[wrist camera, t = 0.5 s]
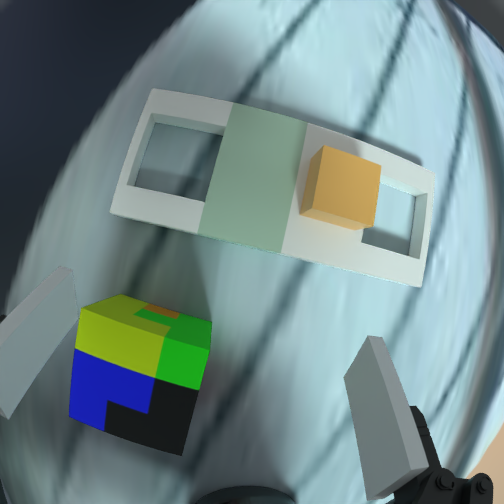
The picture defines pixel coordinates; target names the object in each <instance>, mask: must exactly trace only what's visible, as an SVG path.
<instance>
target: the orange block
mask: <svg viewBox="0 0 504 504" xmlns="http://www.w3.org/2000/svg"><path fill="white" fill-rule="evenodd" d="M380 175H381V165H379V164H376V163H373V162H371V161H368V160H366V159H363V158H360V157H357V156H355V155H352V154H349V153H346V152H343V151H341V150H338V149H335V148H332V147H329V146H326V145H323V146H322V147H321V148H320V149H319V150H318V151H317V153H316V154H315V155H314V156H313V157H312V158H311V160H310V165H309V170H308V176H307V181H306V186H305V191H304V196H303V200H302V205H301V210H300V215H301V216H305V217H309V218H312V219H316V220H320V221H323V222H327V223H330V224H334V225H337V226H341V227H344V228H348V229H351V230H359V229H364V228H369V227H373V225H374V219H375V212H376V205H377V198H378V191H379V183H380Z"/></svg>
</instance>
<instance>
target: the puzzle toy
mask: <svg viewBox="0 0 504 504" xmlns="http://www.w3.org/2000/svg"><path fill="white" fill-rule="evenodd" d="M211 329H212V322H210V321H206V320H203V319H199V318H196V317H192V316H189V315H185V314H182V313H179V312H175V311H172V310H169V309H165V308H162V307H159V306H156V305H153V304H150V303H146V302H143V301H140V300H137V299H134V298H131V297H128V296H125V295H122V294H119V295H116V296H113V297H110V298H107V299H105V300H102V301H99V302H96V303H93V304H91V305H88V306H85V307H82V308H81V312H80V318H79V324H78V330H77V337H76V344H75V351H74V359H73V368H72V378H71V389H70V404H69V417H71V418H73V419H75V420H78V421H80V422H82V423H85V424H87V425H89V426H92V427H94V428H97V429H99V430H102V431H104V432H107V433H109V434H112V435H115V436H117V437H120V438H123V439H126V440H129V441H132V442H135V443H138V444H141V445H144V446H147V447H151V448H154V449H157V450H161V451H164V452H168V453H172V454H176V455H180V456H182V453H183V449H184V445H185V441H186V437H187V434H188V430H189V426H190V422H191V419H192V415H193V411H194V407H195V404H196V400H197V396H198V392H199V389H200V385H201V381H202V378H203V374H204V370H205V367H206V363H207V359H208V356H209V352H210V343H211Z"/></svg>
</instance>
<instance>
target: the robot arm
mask: <svg viewBox="0 0 504 504" xmlns="http://www.w3.org/2000/svg"><path fill="white" fill-rule="evenodd" d="M78 319H79V316H78V309H77V302H76V294H75V285H74V275H73V270H71V269H68V268H65V267H62V266H59V267H58V268H57V269H56V270H55V271H54V272H53V273H51V274H50V275H49V276H48V277H47V278H46V279H45V280H44V281H43V282H42V283H41V284H40V285H38V286H37V287H36V288H35V289H34V290H33V291H32V292H31V293H30V294H29V295H28V296H27V297H26V298H25V299H24V300H23V301H22V302H21V303H20V304H19V305H18V306H17V307H16V308H15V309H14V310H13V311H12V312H11V313H10V314H9V315H8V316H5V315H1V316H0V414H1V415H2V416H4V417H5V418H7V419H8V420H9V418H10V417H11V415H12V413H13V412H14V410H15V409H16V407H17V405H18V404H19V402H20V401H21V399H22V398H23V396H24V394H25V393H26V391H27V390H28V388H29V387H30V385H31V384H32V382H33V381H34V379H35V378H36V376H37V375H38V373H39V372H40V371H41V369H42V368H43V366H44V365H45V363H46V362H47V361H48V359H49V358H50V356H51V355H52V354H53V352H54V351H55V349H56V348H57V347H58V345H59V344H60V343H61V341H62V340H63V338H64V337H65V336H66V334H67V333H68V332H69V330H70V329H71V328H72V327H73V325H74V324H75V323H76V321H77V320H78ZM344 381H345V386H346V390H347V395H348V399H349V404H350V409H351V414H352V418H353V423H354V429H355V434H356V439H357V444H358V450H359V455H360V461H361V467H362V472H363V478H364V485H365V491H366V498H367V501H368V500H376V499H383V498H386V497H387V496H389V495H390V494H392V493H394V499H392V500H391V501H389V502H388V503H386V504H492V503H493V483H492V480H491V478H490V477H489V476H488V475H486V474H484V473H478V474H476V475H475V476H473V477H472V478H471V479H462V478H455V476H454V474H453V473H452V472H451V471H449V470H448V469H445V468H442V467H441V465H440V462H439V459H438V456H437V453H436V449H435V447H434V444H433V441H432V438H431V436H430V432H429V429H428V428H427V424H426V421H425V418H424V416H423V414H422V413H421V412H420V410H419V409H418V408H417V407H416V406H409V404H408V401H407V398H406V396H405V393H404V390H403V388H402V385H401V382H400V380H399V377H398V375H397V372H396V370H395V367H394V365H393V362H392V360H391V357H390V355H389V352H388V350H387V347H386V345H385V343H384V340H383V338H382V337H375V336H367V338H366V340H365V341H364V343H363V345H362V347H361V349H360V350H359V352H358V354H357V356H356V357H355V359H354V361H353V362H352V364H351V366H350V368H349V369H348V371H347V373H346V374H345V376H344ZM0 504H7V500H6V497H5V494H4V490H3V487H2V483H1V479H0ZM196 504H295V502H294V501H293V500H292V499H291V498H290V497H289V496H288V495H286V494H284V493H282V492H280V491H277V490H274V489H270V488H265V487H255V486H243V487H233V488H228V489H223V490H219V491H216V492H213V493H211V494H209V495H207V496H205V497H203V498H202V499H200V500H199V501H198V502H197V503H196Z"/></svg>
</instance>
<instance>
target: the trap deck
mask: <svg viewBox="0 0 504 504" xmlns="http://www.w3.org/2000/svg"><path fill="white" fill-rule="evenodd" d="M155 123H161V124H167V125H173V126H178V127H183V128H189V129H194V130H199V131H204V132H208V133H213V134H218V135H222V136H223V139H222V142H221V146H220V149H219V152H218V156H217V159H216V163H215V167H214V170H213V174H212V178H211V181H210V185H209V189H208V192H207V196H206V200H205V202H202V201H198V200H194V199H189V198H185V197H180V196H176V195H172V194H167V193H162V192H158V191H153V190H149V189H144V188H139V187H134V186H135V182H136V179H137V176H138V172H139V169H140V166H141V163H142V160H143V157H144V154H145V151H146V148H147V145H148V142H149V139H150V136H151V133H152V130H153V128H154V125H155ZM323 145H326V146H329V147H332V148H335V149H338V150H341V151H343V152H346V153H349V154H352V155H355V156H357V157H360V158H363V159H366V160H368V161H371V162H373V163H376V164H379V165H381V175H380V183H383V184H385V185H388V186H390V187H393V188H395V189H398V190H401V191H403V192H406V193H408V194H410V195H413V196H415V197H416V202H415V211H414V219H413V227H412V234H411V241H410V248H409V254H408V256H406V255H402V254H399V253H396V252H392V251H389V250H386V249H382V248H379V247H375V246H372V245H368V244H365V243H361V241H362V235H363V230H364V229H359V230H351V229H348V228H344V227H341V226H337V225H334V224H330V223H327V222H323V221H320V220H316V219H312V218H309V217H305V216H301V215H300V210H301V205H302V200H303V196H304V191H305V186H306V181H307V176H308V170H309V165H310V160H311V158H312V157H313V156H314V155H315V154H316V153H317V151H318V150H319V149H320V148H321V147H322V146H323ZM434 184H435V173H434V172H432V171H430V170H428V169H426V168H423V167H421V166H419V165H417V164H415V163H413V162H411V161H408V160H406V159H404V158H402V157H399V156H397V155H395V154H392V153H390V152H388V151H385V150H383V149H380V148H378V147H375V146H373V145H370V144H368V143H365V142H363V141H360V140H357V139H355V138H352V137H349V136H347V135H344V134H341V133H338V132H335V131H333V130H330V129H327V128H324V127H321V126H318V125H314V124H311V123H308V122H305V121H302V120H298V119H295V118H292V117H288V116H285V115H281V114H278V113H274V112H270V111H267V110H263V109H259V108H255V107H251V106H247V105H242V104H238V103H234V102H229V101H225V100H220V99H215V98H210V97H205V96H199V95H194V94H188V93H182V92H176V91H169V90H162V89H155V88H152V90H151V92H150V94H149V97H148V99H147V102H146V104H145V106H144V109H143V111H142V114H141V116H140V119H139V122H138V124H137V127H136V130H135V132H134V135H133V138H132V141H131V143H130V146H129V149H128V152H127V155H126V158H125V161H124V164H123V167H122V170H121V173H120V177H119V180H118V183H117V187H116V190H115V193H114V197H113V201H112V204H111V208H110V212H109V213H111V214H113V215H116V216H118V217H123V218H127V219H131V220H136V221H140V222H144V223H148V224H153V225H157V226H161V227H165V228H170V229H174V230H178V231H182V232H187V233H191V234H195V235H199V236H203V237H208V238H212V239H216V240H220V241H224V242H229V243H233V244H237V245H241V246H245V247H250V248H254V249H258V250H262V251H266V252H271V253H275V254H279V255H283V256H287V257H291V258H296V259H300V260H304V261H308V262H312V263H316V264H321V265H325V266H329V267H333V268H337V269H341V270H345V271H350V272H354V273H358V274H362V275H366V276H370V277H374V278H378V279H383V280H387V281H391V282H395V283H399V284H403V285H407V286H413V287H421V285H422V280H423V274H424V269H425V263H426V257H427V250H428V244H429V236H430V228H431V219H432V210H433V198H434Z"/></svg>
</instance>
